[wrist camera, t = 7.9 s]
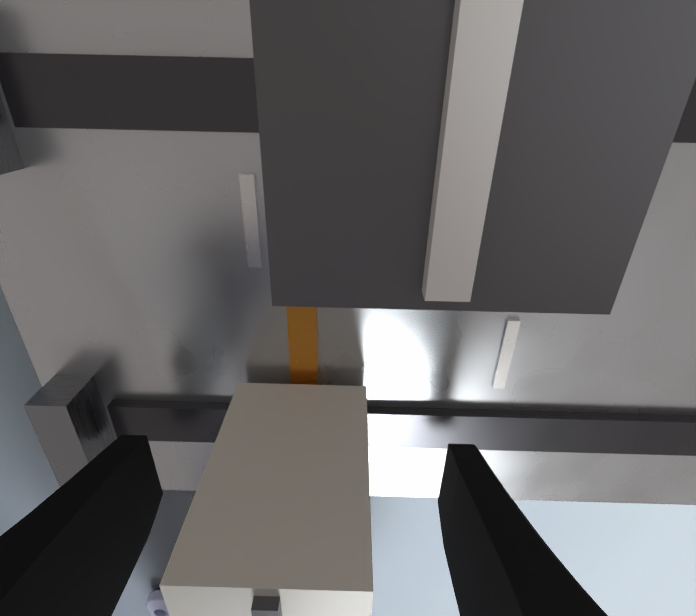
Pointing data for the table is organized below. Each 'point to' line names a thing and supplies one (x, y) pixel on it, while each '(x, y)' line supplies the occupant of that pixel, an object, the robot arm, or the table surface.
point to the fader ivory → (280, 509)
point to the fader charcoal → (464, 147)
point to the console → (255, 289)
